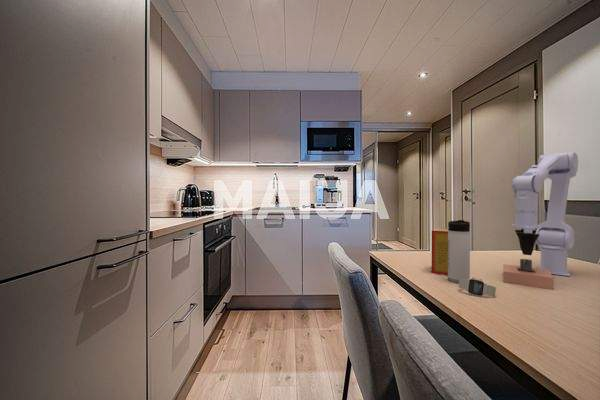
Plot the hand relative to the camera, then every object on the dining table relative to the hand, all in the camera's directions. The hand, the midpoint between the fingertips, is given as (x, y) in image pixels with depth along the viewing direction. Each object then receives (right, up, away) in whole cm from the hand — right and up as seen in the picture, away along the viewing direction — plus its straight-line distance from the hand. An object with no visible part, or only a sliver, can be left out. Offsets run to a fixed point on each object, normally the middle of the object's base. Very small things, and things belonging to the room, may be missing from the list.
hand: (526, 252), depth 91 cm
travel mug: (-22, -10, 0) cm, 24 cm away
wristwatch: (-24, -10, -11) cm, 28 cm away
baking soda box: (-21, -9, +12) cm, 26 cm away
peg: (0, -9, 0) cm, 9 cm away
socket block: (0, -9, 0) cm, 9 cm away
